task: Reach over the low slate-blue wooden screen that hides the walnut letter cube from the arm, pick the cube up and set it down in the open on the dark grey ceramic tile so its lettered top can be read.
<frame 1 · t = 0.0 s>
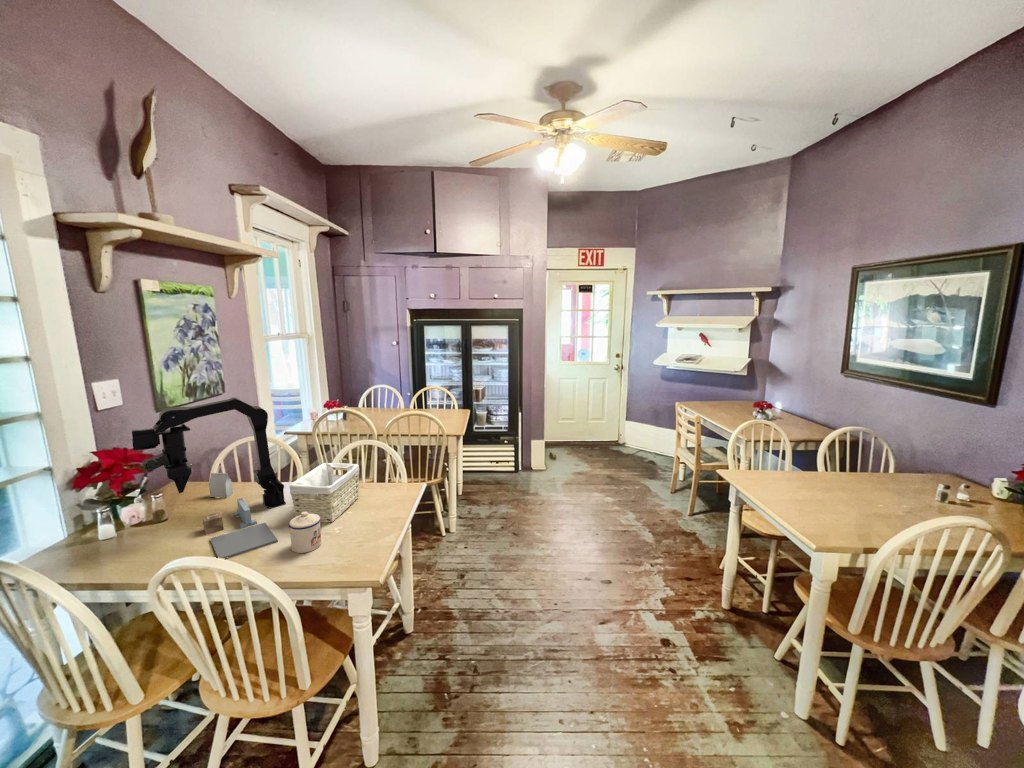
hand: (179, 488, 141), 15 cm above the table, fingers open, 9 cm apart
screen: (244, 519, 150), on the table
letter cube: (213, 529, 143), on the table
lidded ceramic jar: (308, 544, 135), on the table
grey block: (221, 496, 170), on the table
storage basket: (328, 509, 159), on the table
tile: (244, 541, 136), on the table
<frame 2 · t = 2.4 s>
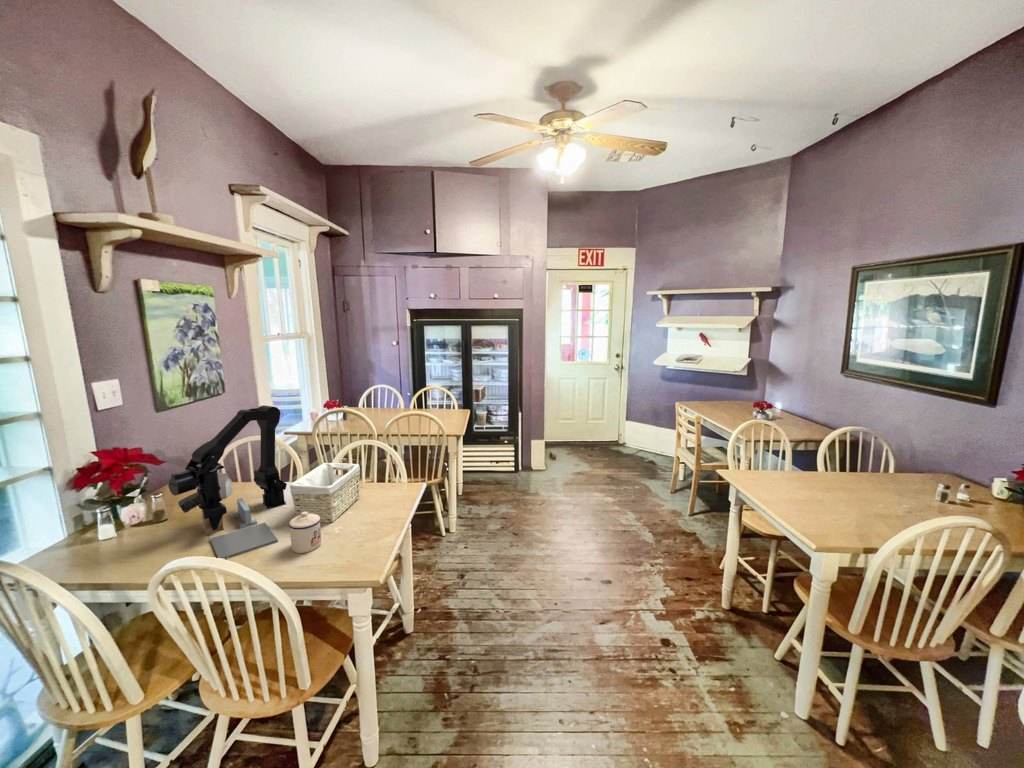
hand: (213, 526, 143), 1 cm above the table, fingers closed on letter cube, 5 cm apart
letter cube: (213, 529, 143), on the table, touching gripper
everything else where it was.
when the fingers open (3 cm above the table, at t = 7.1 s): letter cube stays where it is, resting on tile.
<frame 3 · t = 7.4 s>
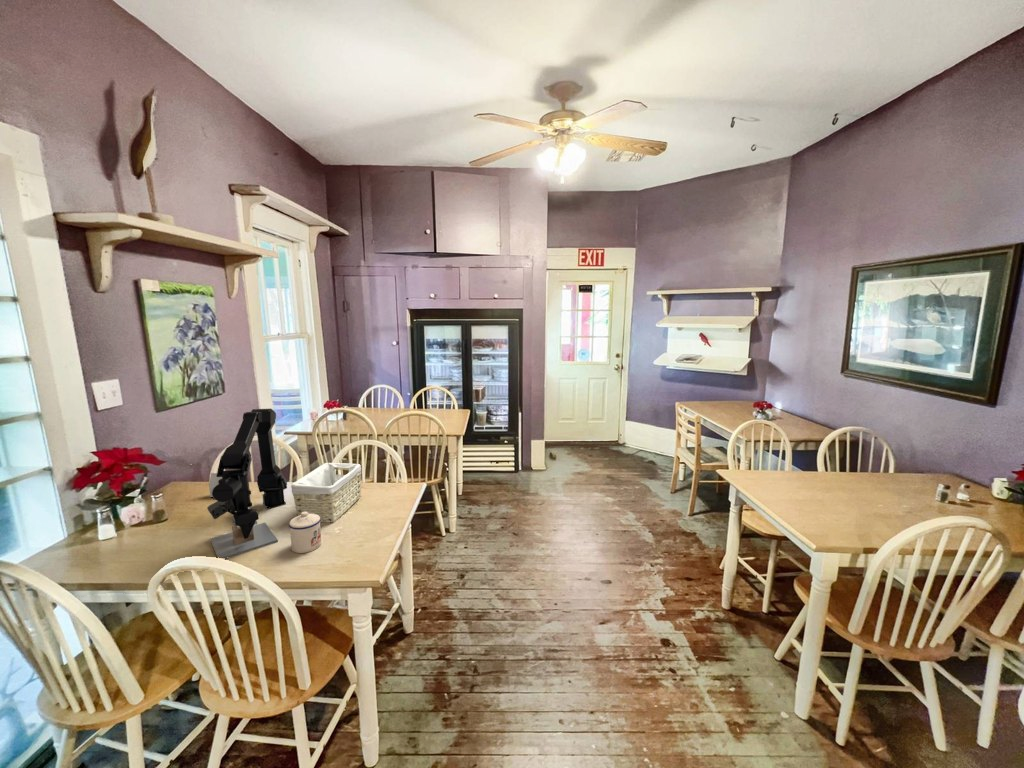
hand: (243, 533, 135), 3 cm above the table, fingers open, 8 cm apart
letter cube: (243, 539, 136), point 1 cm above the table, touching tile
everything else where it was.
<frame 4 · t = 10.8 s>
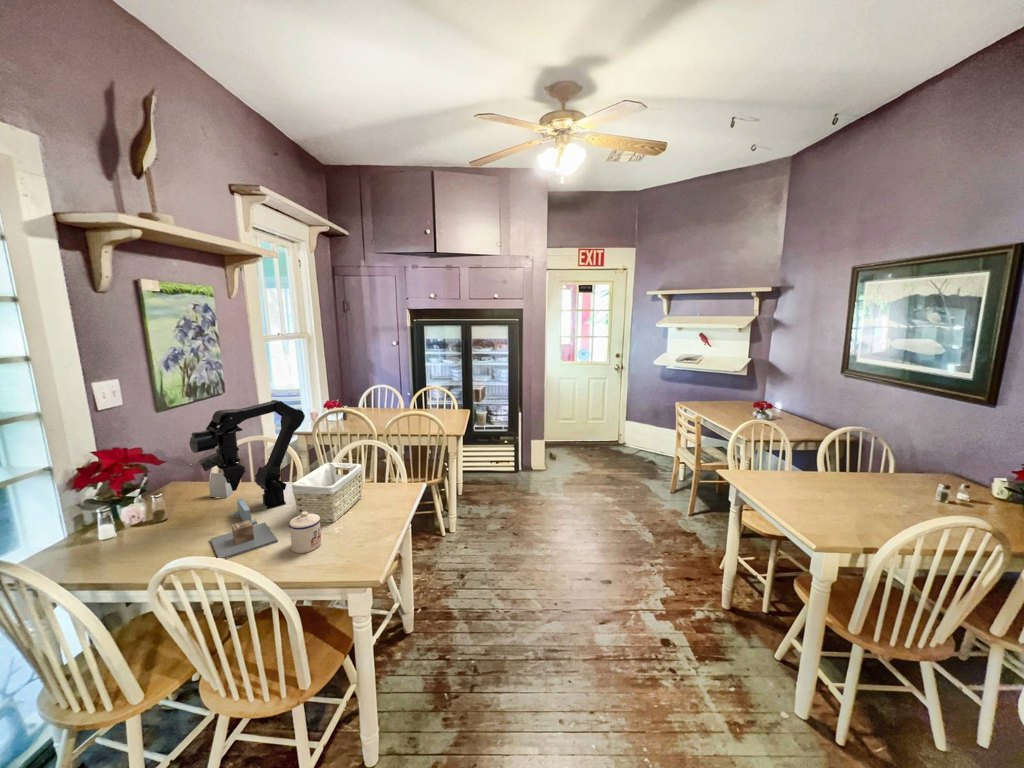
hand: (231, 486, 149), 13 cm above the table, fingers open, 9 cm apart
nothing on the table moved.
at the end: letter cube inside the target area on the tile (0.1 cm from its centre), point 0.8 cm above the tile's base; the gripper is holding nothing; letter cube tilted 0° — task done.
